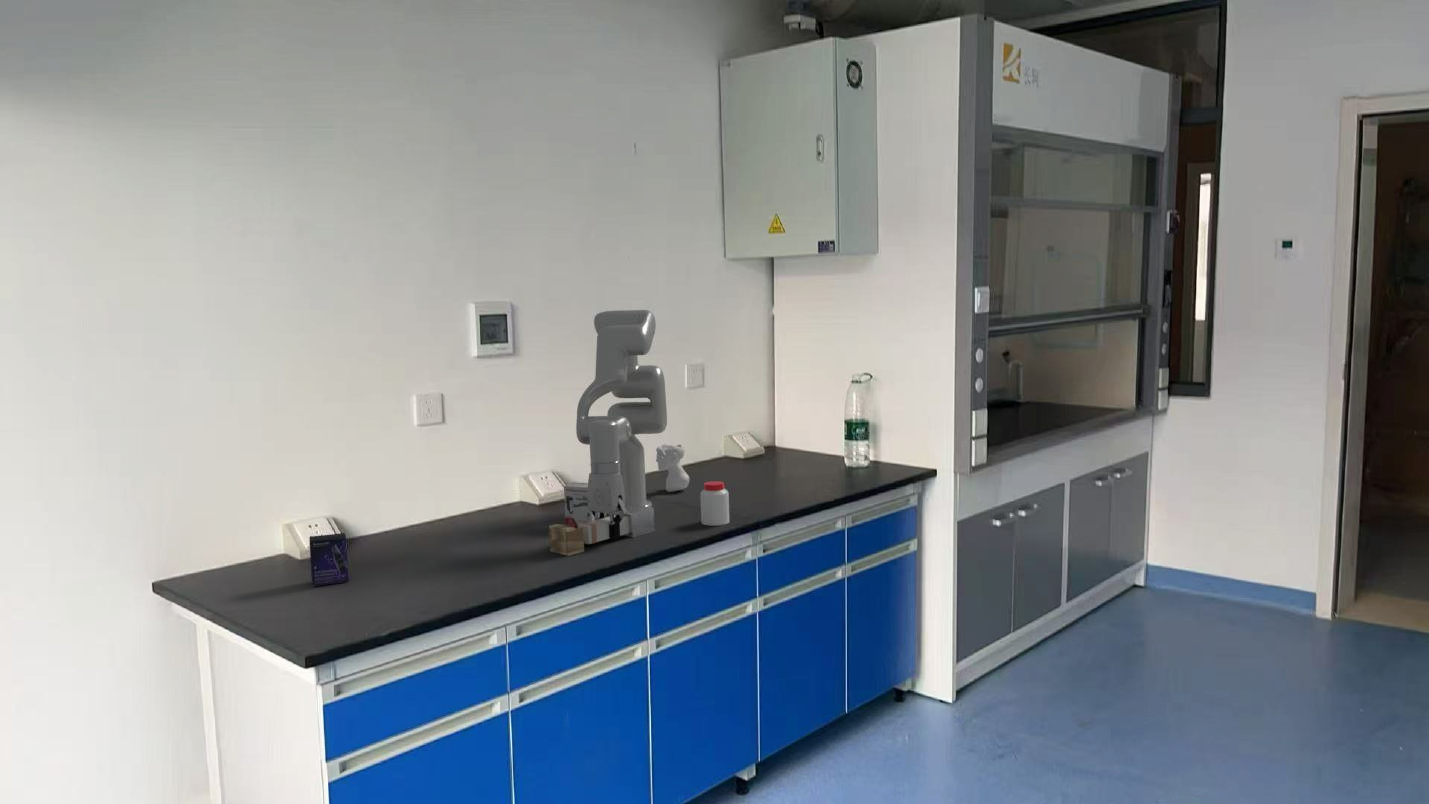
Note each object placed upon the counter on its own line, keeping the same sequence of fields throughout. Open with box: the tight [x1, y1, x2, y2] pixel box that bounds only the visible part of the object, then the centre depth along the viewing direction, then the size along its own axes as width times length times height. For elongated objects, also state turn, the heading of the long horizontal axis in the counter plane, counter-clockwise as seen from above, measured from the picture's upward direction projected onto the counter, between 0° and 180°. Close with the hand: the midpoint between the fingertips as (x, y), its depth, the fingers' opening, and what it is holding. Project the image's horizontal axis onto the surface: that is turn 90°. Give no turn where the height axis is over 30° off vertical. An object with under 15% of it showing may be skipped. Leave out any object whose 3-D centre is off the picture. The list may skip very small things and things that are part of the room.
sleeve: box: [614, 505, 656, 538], centre depth 269 cm, size 7×8×6 cm
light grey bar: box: [578, 514, 631, 545], centre depth 264 cm, size 4×22×5 cm, turn 138°
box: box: [308, 532, 350, 588], centre depth 231 cm, size 8×6×11 cm
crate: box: [548, 523, 585, 557], centre depth 251 cm, size 7×5×7 cm
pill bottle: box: [699, 480, 730, 527], centre depth 277 cm, size 8×8×11 cm
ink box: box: [563, 481, 595, 529], centre depth 278 cm, size 9×5×12 cm, turn 70°
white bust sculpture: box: [655, 443, 690, 493], centre depth 321 cm, size 10×11×15 cm
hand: (608, 536), depth 262 cm, fingers closed on light grey bar, 4 cm apart
